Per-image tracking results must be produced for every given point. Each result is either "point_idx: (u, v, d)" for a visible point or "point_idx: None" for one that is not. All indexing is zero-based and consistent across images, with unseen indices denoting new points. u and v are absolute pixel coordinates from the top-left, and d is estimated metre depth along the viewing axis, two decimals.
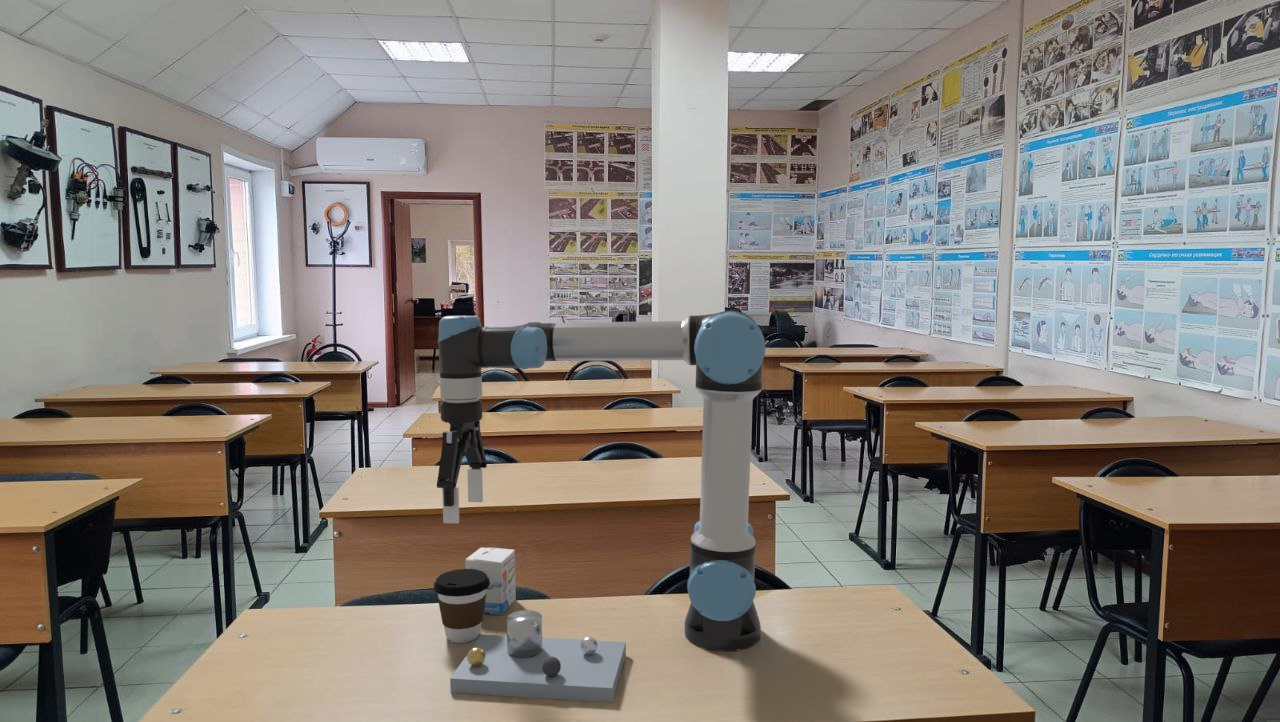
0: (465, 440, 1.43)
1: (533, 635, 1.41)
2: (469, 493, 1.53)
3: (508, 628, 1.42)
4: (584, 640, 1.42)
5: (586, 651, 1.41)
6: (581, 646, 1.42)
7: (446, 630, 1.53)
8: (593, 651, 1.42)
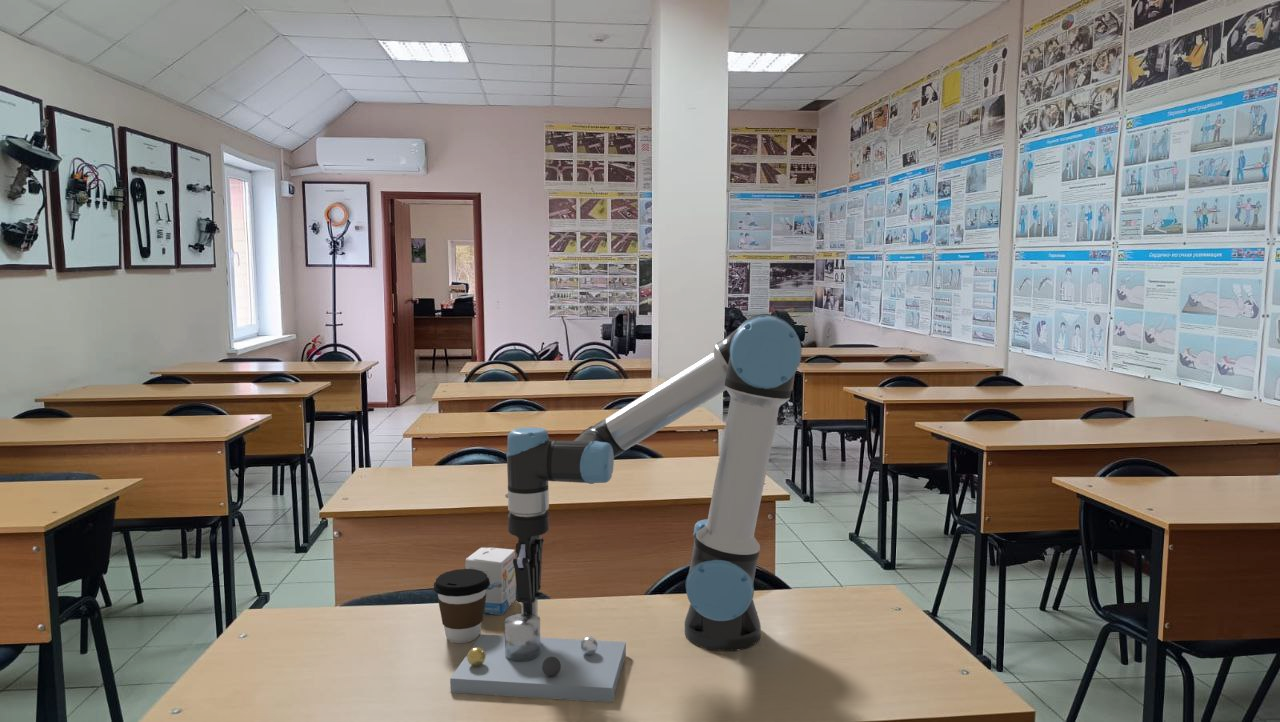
0: (534, 555, 1.45)
1: (531, 638, 1.40)
2: None
3: (506, 631, 1.41)
4: (584, 640, 1.42)
5: (586, 651, 1.41)
6: (581, 646, 1.42)
7: (446, 630, 1.53)
8: (593, 651, 1.42)
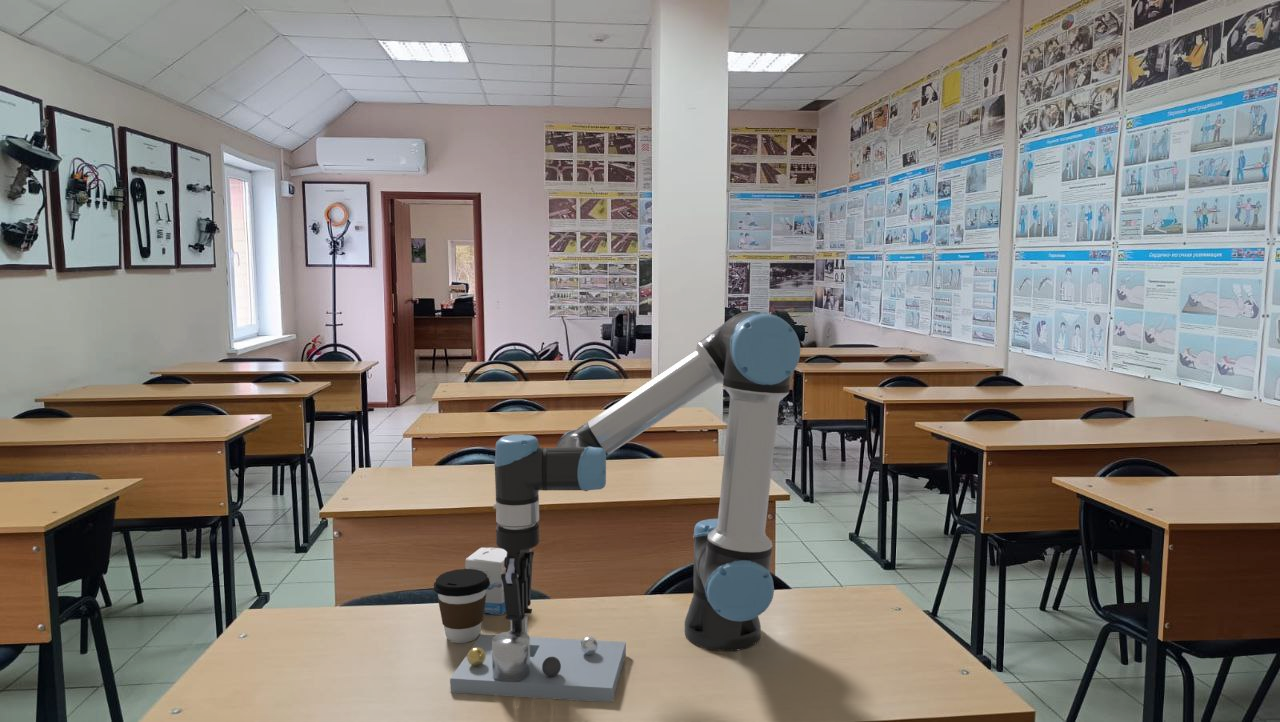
0: (523, 570, 1.37)
1: (520, 658, 1.33)
2: None
3: (493, 651, 1.33)
4: (584, 640, 1.42)
5: (586, 651, 1.41)
6: (581, 646, 1.42)
7: (446, 630, 1.53)
8: (593, 651, 1.42)
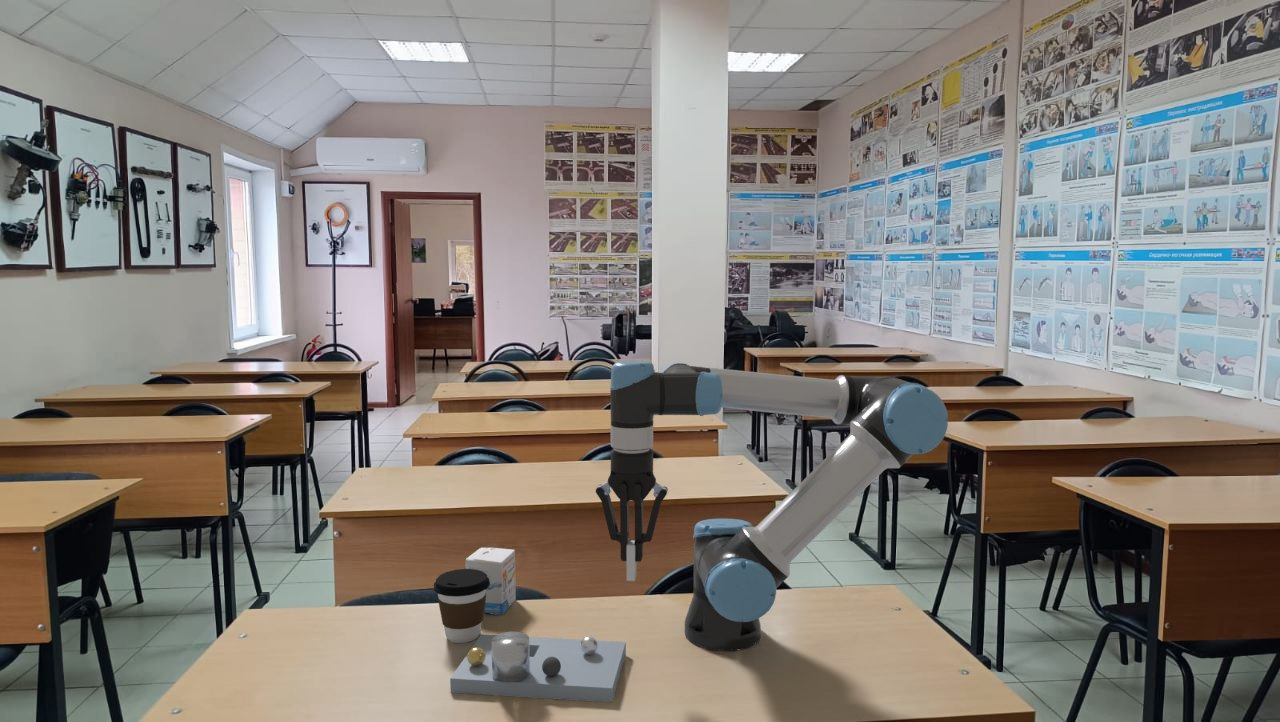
0: (620, 493, 1.38)
1: (520, 658, 1.32)
2: None
3: (493, 651, 1.33)
4: (584, 640, 1.42)
5: (586, 651, 1.41)
6: (581, 646, 1.42)
7: (446, 630, 1.53)
8: (593, 651, 1.42)
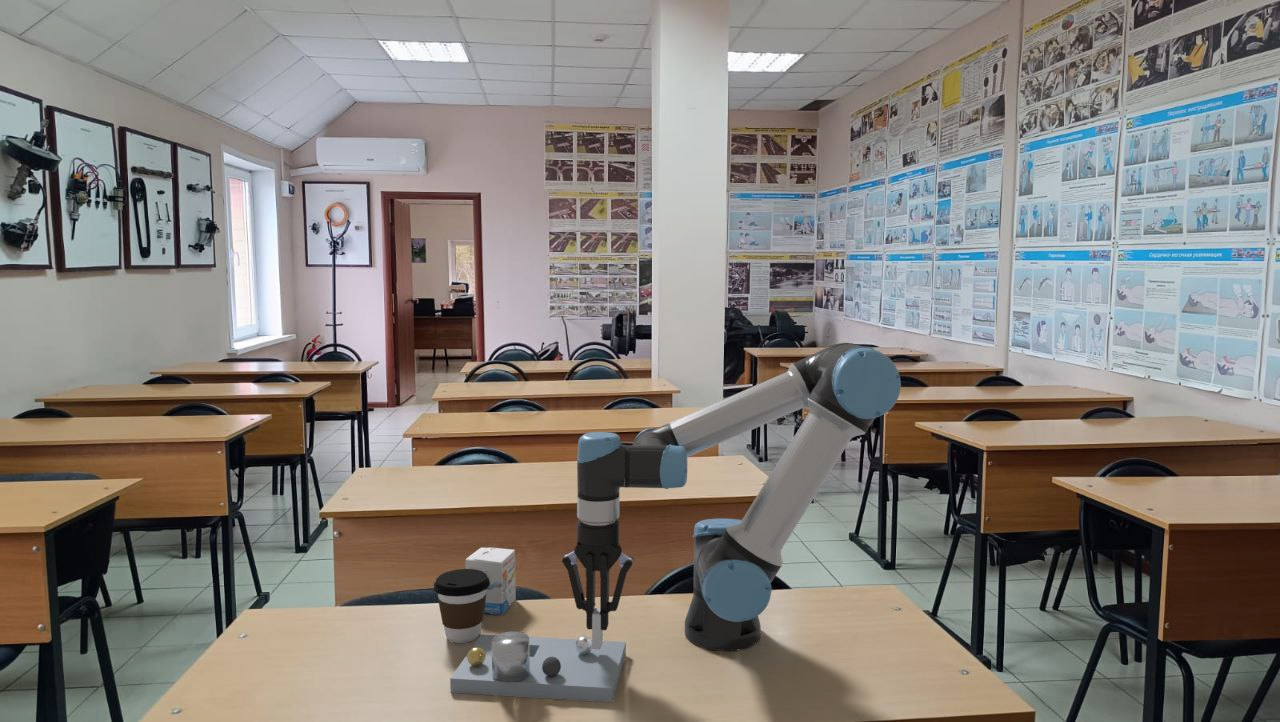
0: (586, 564, 1.40)
1: (520, 658, 1.32)
2: None
3: (493, 651, 1.33)
4: (576, 642, 1.42)
5: (582, 651, 1.41)
6: (576, 649, 1.42)
7: (446, 630, 1.53)
8: (589, 648, 1.42)
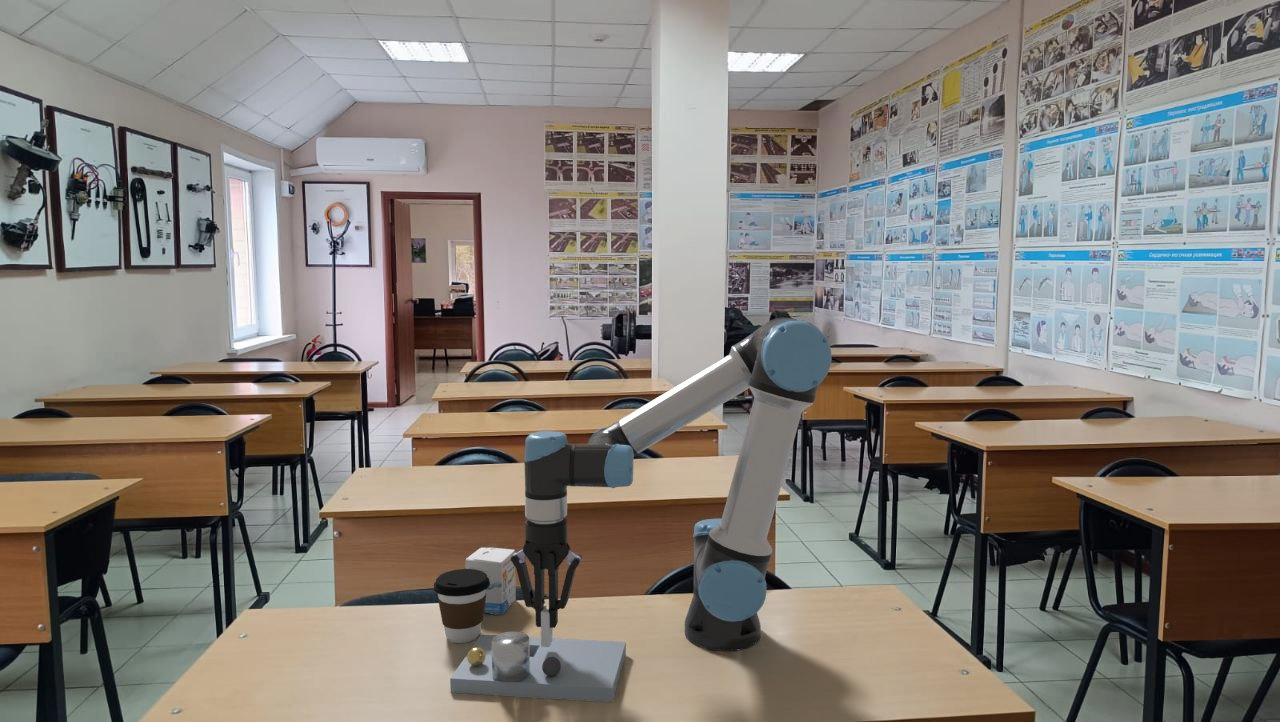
0: (534, 562, 1.41)
1: (520, 658, 1.32)
2: None
3: (493, 651, 1.33)
4: None
5: None
6: None
7: (446, 630, 1.53)
8: None
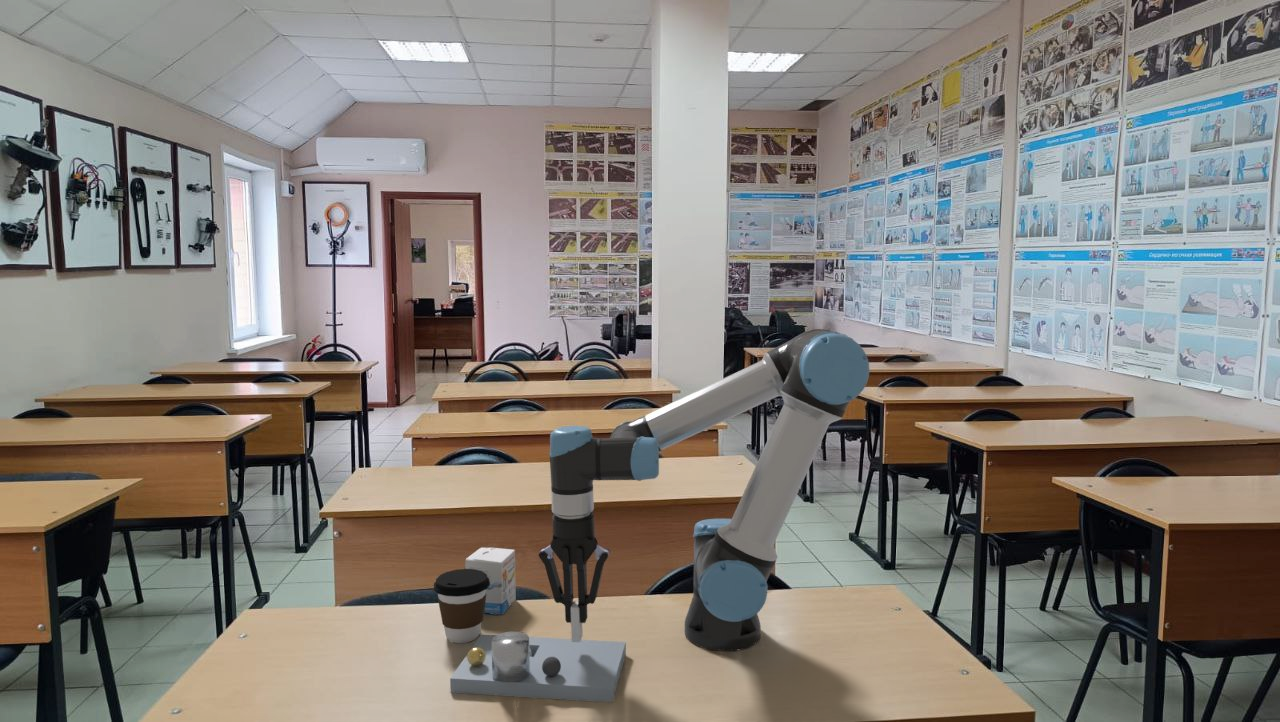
0: None
1: (520, 658, 1.32)
2: None
3: (493, 651, 1.33)
4: None
5: None
6: None
7: (446, 630, 1.53)
8: None
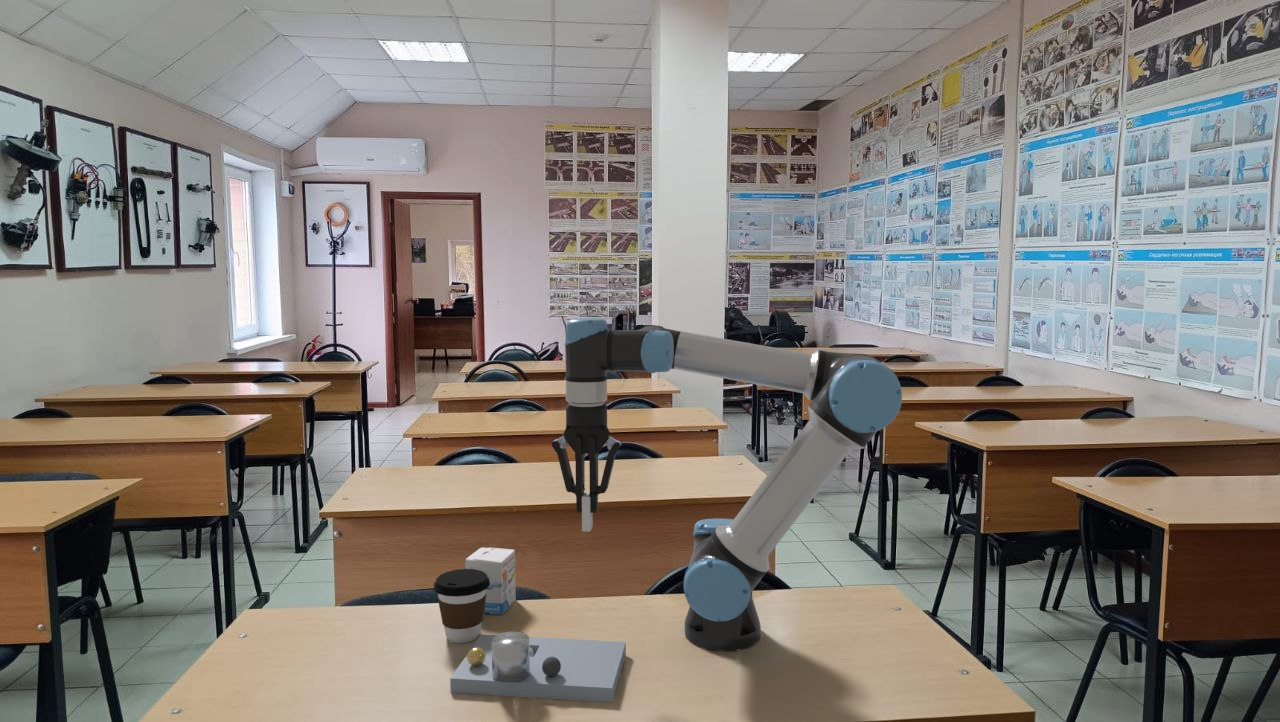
0: (575, 446, 1.42)
1: (520, 658, 1.32)
2: None
3: (493, 651, 1.33)
4: None
5: None
6: None
7: (446, 630, 1.53)
8: None
